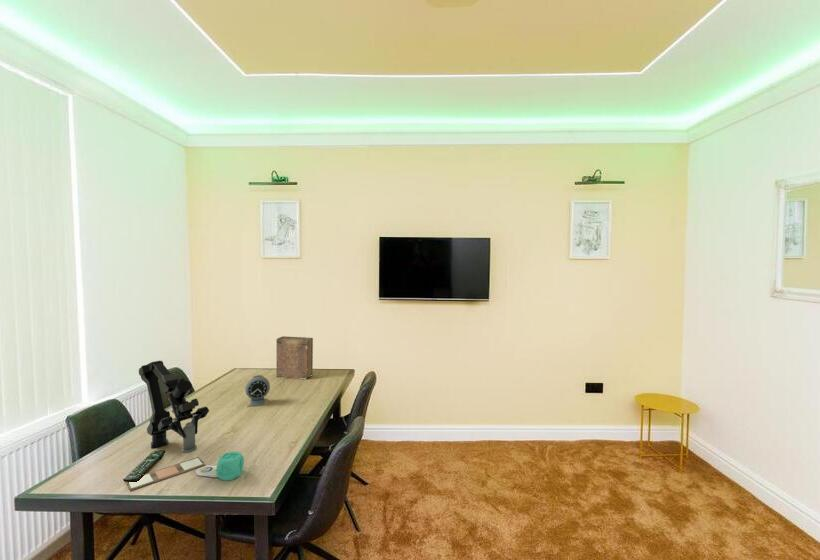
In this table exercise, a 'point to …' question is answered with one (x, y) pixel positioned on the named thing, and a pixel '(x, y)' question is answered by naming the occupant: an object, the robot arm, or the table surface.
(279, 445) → the table surface
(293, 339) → the book
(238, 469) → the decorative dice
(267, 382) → the alarm clock
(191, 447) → the pawn
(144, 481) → the game board
